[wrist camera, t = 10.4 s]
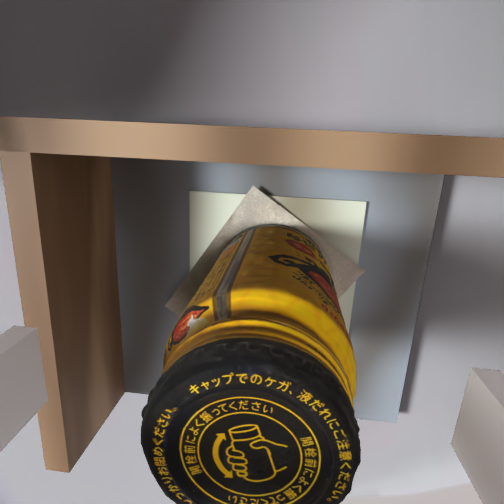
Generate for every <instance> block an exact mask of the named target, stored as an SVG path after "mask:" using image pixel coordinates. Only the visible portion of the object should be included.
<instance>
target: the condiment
mask: <svg viewBox="0 0 504 504" xmlns="http://www.w3.org/2000/svg"><path fill="white" fill-rule="evenodd" d="M364 272H365V270H363V269H362V268H361V267H360V266H358V265H357V264H356V263H354V262H353V261H352V260H350V259H349V258H348V257H347V256H345V255H344V254H343V253H341V252H340V251H339V250H337V249H336V248H335V247H334V246H332V245H331V244H330V243H328V242H327V241H326V240H324V239H323V238H322V237H321V236H319V235H318V234H317V233H315V232H314V231H313V230H311V229H310V228H309V227H307V226H306V225H305V224H303V223H302V222H301V221H299V220H298V219H297V218H295V217H294V216H293V215H292V214H290V213H289V212H288V211H286V210H285V209H283V208H282V207H281V206H280V205H278V204H276V203H275V202H274V201H273V200H271V199H270V198H269V197H267V196H266V195H265V194H264V193H262V192H261V191H260V190H258V189H257V188H256V187H254V186H252V188H251V189H250V190H249V192H248V193H247V194H246V196H245V197H244V198H243V200H242V201H241V203H240V204H239V205H238V207H237V208H236V209H235V211H234V212H233V214H232V215H231V216H230V218H229V219H228V220H227V222H226V223H225V224H224V226H223V227H222V229H221V230H220V231H219V233H218V234H217V235H216V237H215V238H214V239H213V241H212V242H211V244H210V245H209V246H208V248H207V249H206V250H205V252H204V253H203V254H202V256H201V257H200V258H199V260H198V261H197V263H196V264H195V265H194V267H193V268H192V269H191V271H190V272H189V273H188V275H187V276H186V278H185V279H184V280H183V282H182V283H181V284H180V286H179V287H178V289H177V290H176V291H175V293H174V294H173V295H172V297H171V298H170V299H169V301H168V302H167V304H166V305H165V307H166V308H168V309H170V310H171V311H172V312H174V313H175V314H178V315H179V316H180V317H179V319H178V321H177V323H176V324H175V326H174V328H173V330H172V332H171V334H170V336H169V339H168V341H167V343H166V348H165V354H164V360H163V371H162V374H161V377H160V378H159V379H158V381H157V383H156V385H155V387H154V388H153V389H152V390H151V391H150V392H149V396H148V403H147V405H146V406H145V407H144V408H143V410H142V418H143V421H142V426H141V445H142V447H143V451H144V454H145V457H146V459H147V462H148V464H149V467H150V470H151V472H152V474H153V475H154V477H155V479H156V481H157V482H158V484H159V486H160V487H161V489H162V490H163V492H164V493H165V495H166V496H167V497H169V498H170V499H171V500H173V501H174V502H175V503H176V504H339V503H340V502H342V501H343V500H344V498H345V497H346V495H347V494H348V493H350V491H351V487H352V481H353V478H354V475H355V472H356V470H357V467H358V465H359V464H360V462H361V460H360V452H361V449H360V439H359V435H358V432H359V430H360V429H359V427H358V425H357V420H356V419H355V415H354V414H355V411H354V407H353V400H354V398H355V395H356V380H357V374H356V362H355V357H354V351H353V346H352V342H351V339H350V336H349V334H348V331H347V329H346V325H345V322H344V318H343V316H342V311H341V308H340V305H339V301H338V299H339V298H340V297H341V296H342V295H343V294H344V293H345V292H346V291H347V290H348V288H349V287H350V286H351V285H352V284H353V283H354V282H355V281H356V280H357V279H358V278H359V276H361V275H362V274H363V273H364Z"/></svg>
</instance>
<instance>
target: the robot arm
mask: <svg viewBox="0 0 504 504" xmlns="http://www.w3.org/2000/svg"><path fill="white" fill-rule="evenodd" d="M47 401H48V397H47V391H46V384H45V377H44V371H43V364H42V357H41V350H40V344H39V337H38V330H37V328H34V327H23V326H13V327H11V328H10V329H8V330H7V331H6V332H4V333H3V334H1V335H0V452H1V451H2V450H3V449H4V447H5V446H6V445H7V444H8V443H9V442H10V441H11V440H12V439H13V438H14V437H15V436H16V434H17V433H18V432H19V431H20V430H21V429H22V428H23V427H24V426H25V425H26V424H27V423H28V422H29V420H30V419H31V418H32V417H33V416H34V415H35V414H36V413H37V412H38V411H39V410H40V409H41V407H42V406H43V405H44V404H45V403H46V402H47ZM451 445H452V447H453V449H454V451H455V452H456V454H457V456H458V458H459V460H460V462H461V464H462V466H463V467H464V469H465V471H466V473H467V475H468V477H469V479H470V480H471V482H472V484H473V486H474V488H475V490H476V492H477V494H478V495H479V497H480V499H481V501H482V503H483V504H504V375H503V374H502V373H501V372H500V371H499V370H491V369H480V368H471V370H470V374H469V378H468V381H467V385H466V389H465V393H464V397H463V400H462V404H461V408H460V412H459V416H458V419H457V423H456V427H455V431H454V435H453V438H452V442H451Z"/></svg>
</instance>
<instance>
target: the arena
mask: <svg viewBox="0 0 504 504" xmlns="http://www.w3.org/2000/svg"><path fill="white" fill-rule="evenodd" d="M0 160H1V167H2V173H3V180H4V187H5V194H6V201H7V208H8V214H9V221H10V228H11V235H12V242H13V249H14V256H15V262H16V269H17V276H18V283H19V290H20V297H21V303H22V310H23V317H24V324H25V327H34V328H37V330H38V337H39V344H40V350H41V357H42V364H43V371H44V377H45V384H46V391H47V397H48V401H47V402H46V403H45V404H44V405H43V406H42V407H41V409H40V410H39V411H38V412H37V413H38V420H39V427H40V433H41V440H42V447H43V454H44V461H45V468H46V470H53V471H61V472H68V473H69V472H70V471H71V470H72V468H73V467H74V465H75V464H76V462H77V461H78V459H79V458H80V456H81V455H82V454H83V452H84V451H85V449H86V448H87V446H88V445H89V443H90V442H91V441H92V439H93V438H94V436H95V435H96V433H97V432H98V430H99V429H100V427H101V426H102V425H103V423H104V422H105V420H106V419H107V417H108V416H109V414H110V413H111V411H112V410H113V409H114V407H115V406H116V404H117V403H118V401H119V400H120V398H121V397H122V396H123V394H124V393H125V392H131V393H140V394H149V392H150V391H151V390H152V389H153V388H154V387H155V385H156V383H157V381H158V379H159V378H160V377H161V374H162V371H163V360H164V354H165V348H166V343H167V341H168V339H169V336H170V334H171V332H172V330H173V328H174V326H175V324H176V323H177V321H178V319H179V317H180V316H179V315H178V314H175V313H174V312H172V311H171V310H170V309H168V308H166V307H165V305H166V304H167V302H168V301H169V299H170V298H171V297H172V295H173V294H174V293H175V291H176V290H177V289H178V287H179V286H180V284H181V283H182V282H183V280H184V279H185V278H186V276H187V275H188V273H189V272H190V271H191V269H192V268H193V267H194V265H195V264H196V263H197V261H198V260H199V258H200V257H201V256H202V254H203V253H204V252H205V250H206V249H207V248H208V246H209V245H210V244H211V242H212V241H213V239H214V238H215V237H216V235H217V234H218V233H219V231H220V230H221V229H222V227H223V226H224V224H225V223H226V222H227V220H228V219H229V218H230V216H231V215H232V214H233V212H234V211H235V209H236V208H237V207H238V205H239V204H240V203H241V201H242V200H243V198H244V197H245V196H246V194H247V193H248V192H249V190H250V189H251V188H252V186H254V187H256V188H257V189H258V190H260V191H261V192H262V193H264V194H265V195H266V196H267V197H269V198H270V199H271V200H273V201H274V202H275V203H276V204H278V205H280V206H281V207H282V208H283V209H285V210H286V211H288V212H289V213H290V214H292V215H293V216H294V217H295V218H297V219H298V220H299V221H301V222H302V223H303V224H305V225H306V226H307V227H309V228H310V229H311V230H313V231H314V232H315V233H317V234H318V235H319V236H321V237H322V238H323V239H324V240H326V241H327V242H328V243H330V244H331V245H332V246H334V247H335V248H336V249H337V250H339V251H340V252H341V253H343V254H344V255H345V256H347V257H348V258H349V259H350V260H352V261H353V262H354V263H356V264H357V265H358V266H360V267H361V268H362V269H363V270H365V272H364V273H363V274H362V275H361V276H359V278H358V279H357V280H356V281H355V282H354V283H353V284H352V285H351V286H350V287H349V288H348V290H347V291H346V292H345V293H344V294H343V295H342V296H341V297H340V298H339V299H338V301H339V305H340V308H341V311H342V316H343V318H344V322H345V325H346V329H347V331H348V334H349V336H350V339H351V342H352V346H353V351H354V357H355V362H356V374H357V380H356V395H355V398H354V400H353V407H354V411H355V414H354V415H355V418H357V419H366V420H375V421H383V422H392V423H397V418H398V412H399V407H400V402H401V397H402V392H403V386H404V381H405V376H406V371H407V366H408V361H409V355H410V350H411V345H412V340H413V335H414V329H415V324H416V319H417V314H418V309H419V304H420V298H421V293H422V288H423V283H424V278H425V272H426V267H427V262H428V257H429V252H430V247H431V241H432V236H433V231H434V226H435V221H436V216H437V210H438V205H439V200H440V195H441V190H442V184H443V179H444V174H445V175H464V176H483V177H501V178H504V138H489V137H466V136H443V135H420V134H397V133H374V132H351V131H328V130H305V129H282V128H259V127H236V126H213V125H190V124H167V123H144V122H121V121H98V120H75V119H52V118H29V117H6V116H0Z"/></svg>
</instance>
